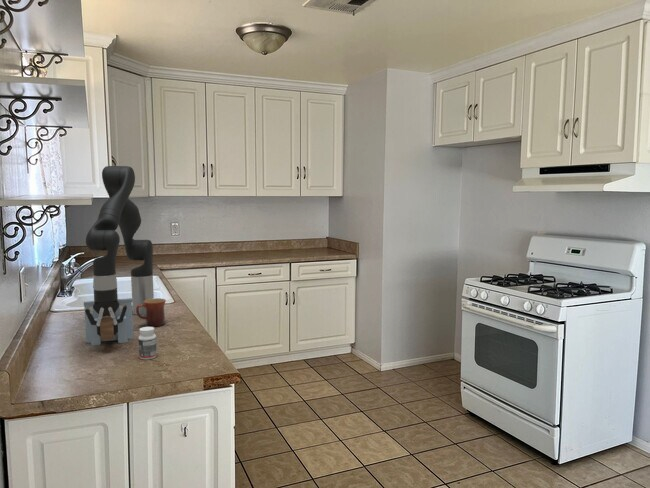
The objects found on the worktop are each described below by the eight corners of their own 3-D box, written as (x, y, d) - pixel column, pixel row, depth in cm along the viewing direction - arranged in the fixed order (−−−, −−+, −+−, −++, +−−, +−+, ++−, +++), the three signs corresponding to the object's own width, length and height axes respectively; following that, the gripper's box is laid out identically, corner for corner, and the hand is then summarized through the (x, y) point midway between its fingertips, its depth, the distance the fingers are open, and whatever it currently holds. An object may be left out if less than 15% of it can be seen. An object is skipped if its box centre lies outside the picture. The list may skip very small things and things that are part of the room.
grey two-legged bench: (86, 341, 183) (84, 301, 182) (133, 337, 189) (132, 298, 187) (84, 346, 178) (82, 305, 176) (133, 341, 184) (131, 301, 182)
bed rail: (103, 329, 183) (102, 312, 182) (115, 328, 184) (114, 312, 184) (100, 340, 170) (99, 323, 169) (113, 339, 171) (112, 321, 170)
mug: (161, 320, 212) (161, 297, 210) (169, 325, 205) (169, 301, 204) (133, 325, 204) (132, 301, 203) (140, 330, 197) (139, 305, 196)
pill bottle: (139, 355, 169) (137, 327, 168) (156, 353, 171) (155, 325, 170) (139, 360, 164) (137, 331, 163) (157, 358, 166) (156, 330, 165)
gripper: (127, 283, 178) (129, 330, 180) (83, 286, 173) (86, 334, 175) (127, 288, 171) (129, 336, 173) (81, 290, 166) (84, 340, 168)
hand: (107, 334), depth 174 cm, fingers closed on bed rail, 4 cm apart
